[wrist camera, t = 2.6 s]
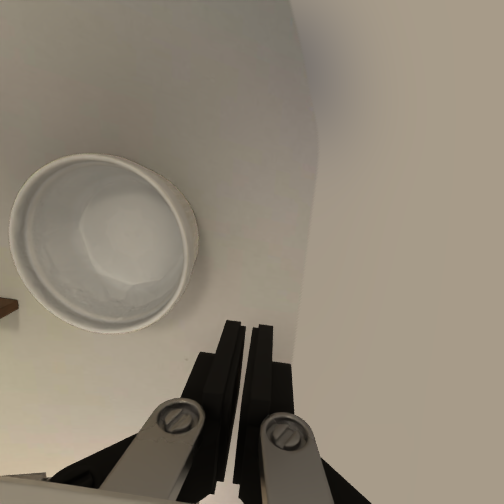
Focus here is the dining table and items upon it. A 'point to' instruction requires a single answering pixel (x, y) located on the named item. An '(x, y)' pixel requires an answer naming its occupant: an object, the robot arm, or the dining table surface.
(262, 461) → the robot arm
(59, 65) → the dining table surface
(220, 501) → the dining table surface
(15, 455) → the dining table surface
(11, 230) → the ramekin
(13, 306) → the frame
